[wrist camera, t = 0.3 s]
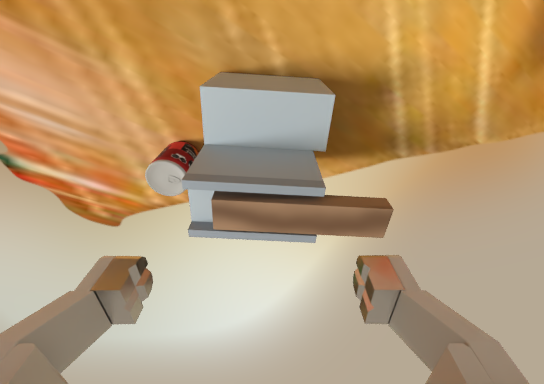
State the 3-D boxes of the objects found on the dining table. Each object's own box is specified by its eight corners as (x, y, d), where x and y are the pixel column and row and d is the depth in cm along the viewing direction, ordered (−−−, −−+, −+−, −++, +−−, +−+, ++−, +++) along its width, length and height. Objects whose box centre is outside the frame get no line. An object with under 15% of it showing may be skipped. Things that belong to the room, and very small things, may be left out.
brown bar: (215, 189, 33) (211, 199, 31) (386, 198, 34) (393, 209, 32) (217, 217, 36) (213, 229, 33) (376, 225, 36) (383, 237, 34)
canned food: (205, 169, 61) (192, 194, 51) (171, 173, 61) (153, 198, 52) (196, 138, 57) (180, 158, 48) (160, 142, 57) (138, 163, 48)
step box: (220, 72, 50) (171, 106, 26) (318, 78, 51) (358, 117, 27) (223, 154, 59) (188, 236, 35) (307, 159, 59) (329, 243, 36)
